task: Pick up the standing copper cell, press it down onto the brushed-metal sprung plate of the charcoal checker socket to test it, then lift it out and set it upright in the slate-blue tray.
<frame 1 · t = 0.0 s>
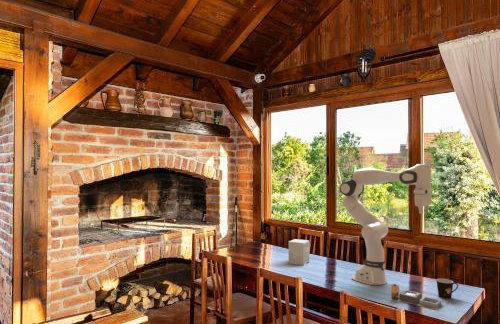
hand: (423, 213, 218), 48 cm above the table, fingers open, 8 cm apart
cell: (395, 299, 204), on the table
checker socket: (410, 300, 201), resting on bench board
sprung plate: (410, 295, 201), point 3 cm above the table, slide at 0.0 cm
coffee mug: (447, 298, 206), on the table
supplement box: (299, 262, 287), on the table
tray: (430, 304, 194), resting on bench board
bench board: (419, 303, 198), on the table
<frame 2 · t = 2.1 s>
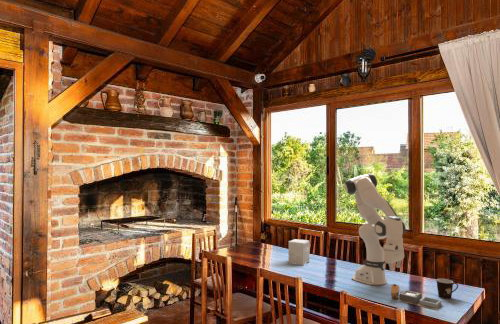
hand: (395, 269, 205), 17 cm above the table, fingers open, 8 cm apart
nothing on the table moved.
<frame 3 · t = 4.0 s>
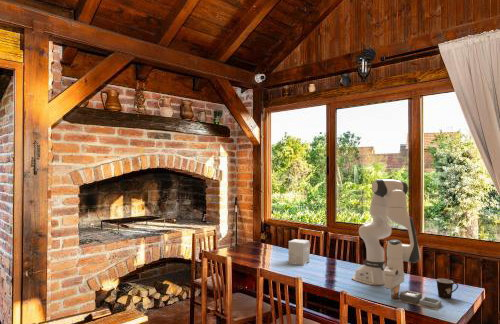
hand: (395, 293, 204), 4 cm above the table, fingers closed on cell, 4 cm apart
cell: (395, 299, 204), on the table, touching gripper
everything else where it was.
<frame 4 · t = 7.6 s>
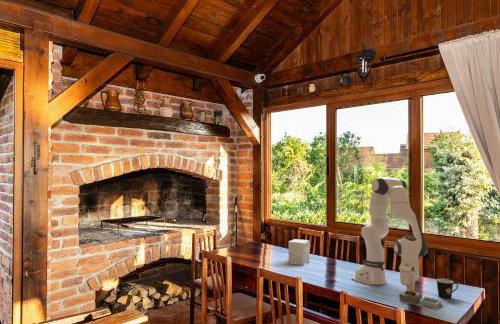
hand: (410, 290, 202), 6 cm above the table, fingers closed on cell, 4 cm apart
cell: (410, 296, 201), point 3 cm above the table, touching gripper, sprung plate
sprung plate: (410, 297, 201), point 2 cm above the table, slide at -1.2 cm, touching cell
everything else where it was.
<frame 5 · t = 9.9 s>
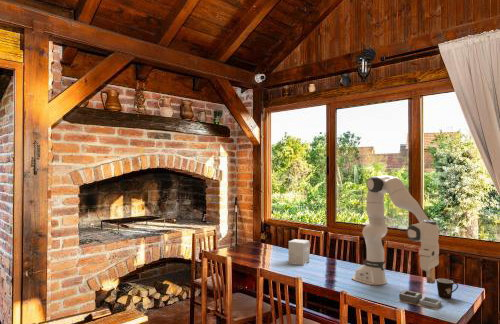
hand: (430, 275, 195), 17 cm above the table, fingers closed on cell, 4 cm apart
cell: (430, 282, 194), point 13 cm above the table, touching gripper
sprung plate: (410, 297, 201), point 2 cm above the table, slide at -1.2 cm
everything else where it was.
when the fingers open (6 cm above the table, at t = 11.6 s): cell drops 1 cm, resting on tray.
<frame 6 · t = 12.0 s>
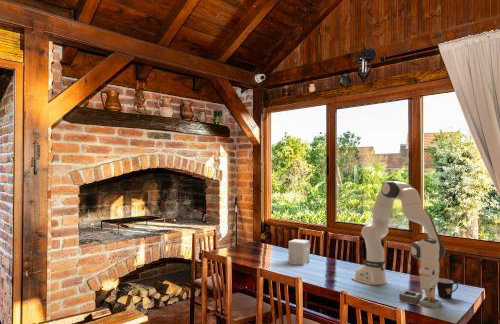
hand: (430, 294, 194), 6 cm above the table, fingers open, 8 cm apart
cell: (430, 303, 194), point 1 cm above the table, touching tray
everything else where it was.
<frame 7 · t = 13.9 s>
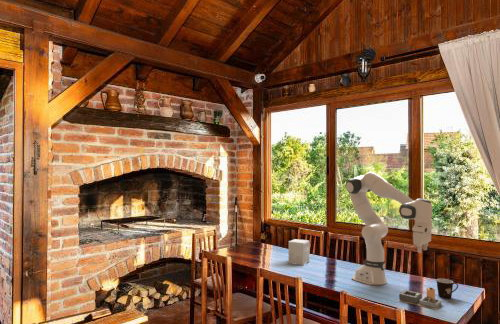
hand: (422, 251, 205), 28 cm above the table, fingers open, 8 cm apart
nothing on the table moved.
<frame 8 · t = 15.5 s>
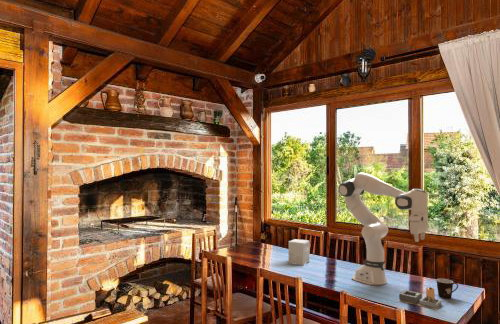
hand: (419, 240, 208), 33 cm above the table, fingers open, 8 cm apart
nothing on the table moved.
at the end: cell 0.2 cm off-centre on the tray, point 0.7 cm above the tray's base; cell tilted 2°; the gripper is holding nothing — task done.
